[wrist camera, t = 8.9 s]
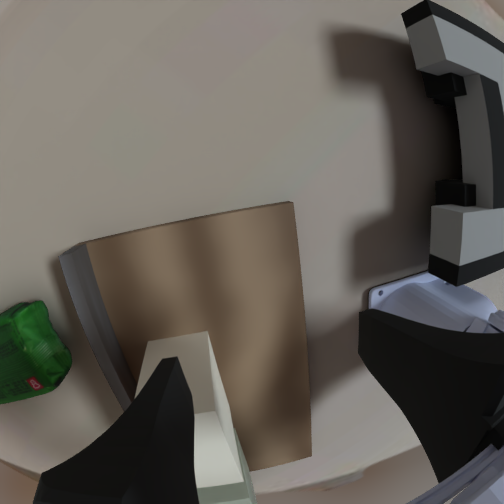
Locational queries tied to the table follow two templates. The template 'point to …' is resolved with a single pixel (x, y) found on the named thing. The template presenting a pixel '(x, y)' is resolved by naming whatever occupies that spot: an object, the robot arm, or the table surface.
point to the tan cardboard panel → (207, 314)
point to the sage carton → (231, 487)
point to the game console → (464, 140)
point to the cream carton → (201, 406)
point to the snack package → (30, 353)
